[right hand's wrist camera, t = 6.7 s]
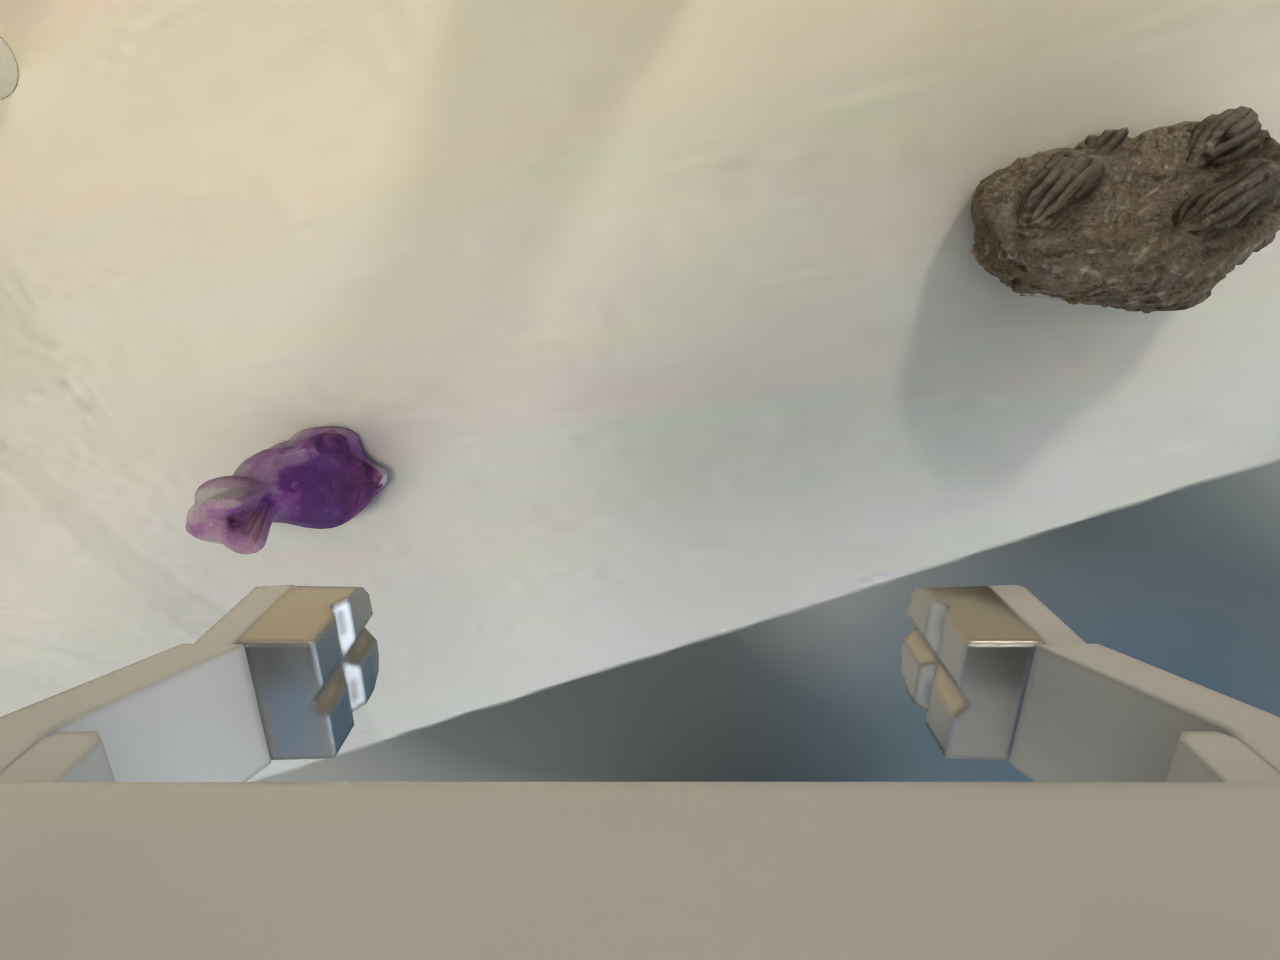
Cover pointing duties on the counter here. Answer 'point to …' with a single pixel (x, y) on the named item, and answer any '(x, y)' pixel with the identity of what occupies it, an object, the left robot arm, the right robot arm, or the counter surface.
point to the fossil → (1133, 214)
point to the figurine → (287, 490)
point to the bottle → (7, 70)
